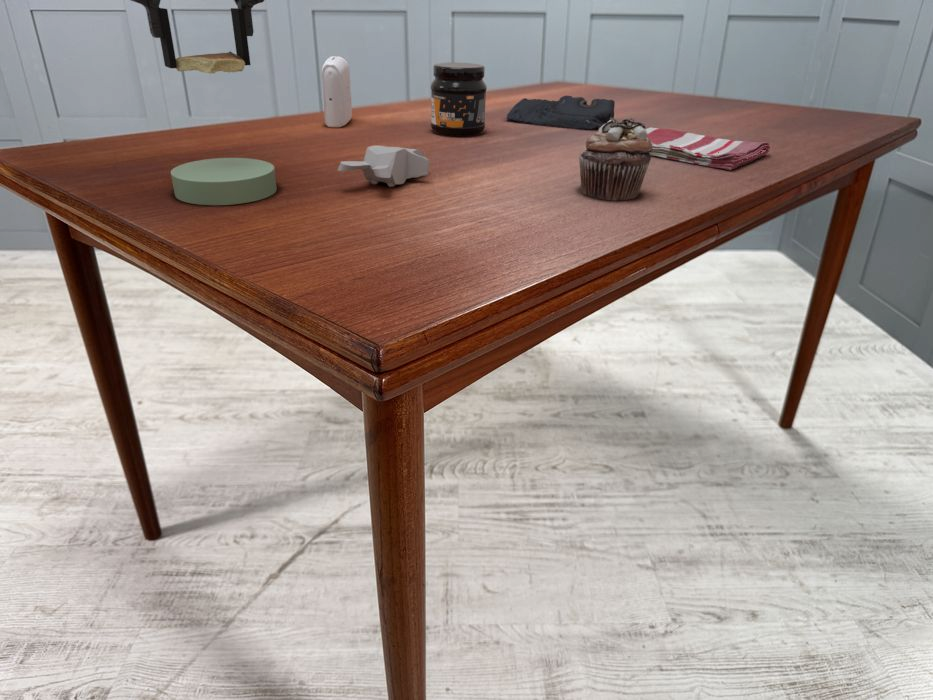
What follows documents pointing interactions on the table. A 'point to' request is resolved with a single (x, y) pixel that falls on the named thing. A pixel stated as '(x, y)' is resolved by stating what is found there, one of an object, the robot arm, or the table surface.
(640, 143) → the cupcake
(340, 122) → the photo printer
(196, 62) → the shard
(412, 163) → the grey faceted piece
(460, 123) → the supplement container
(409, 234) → the table surface
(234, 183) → the disc
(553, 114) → the dark slate chunk
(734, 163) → the dish towel
